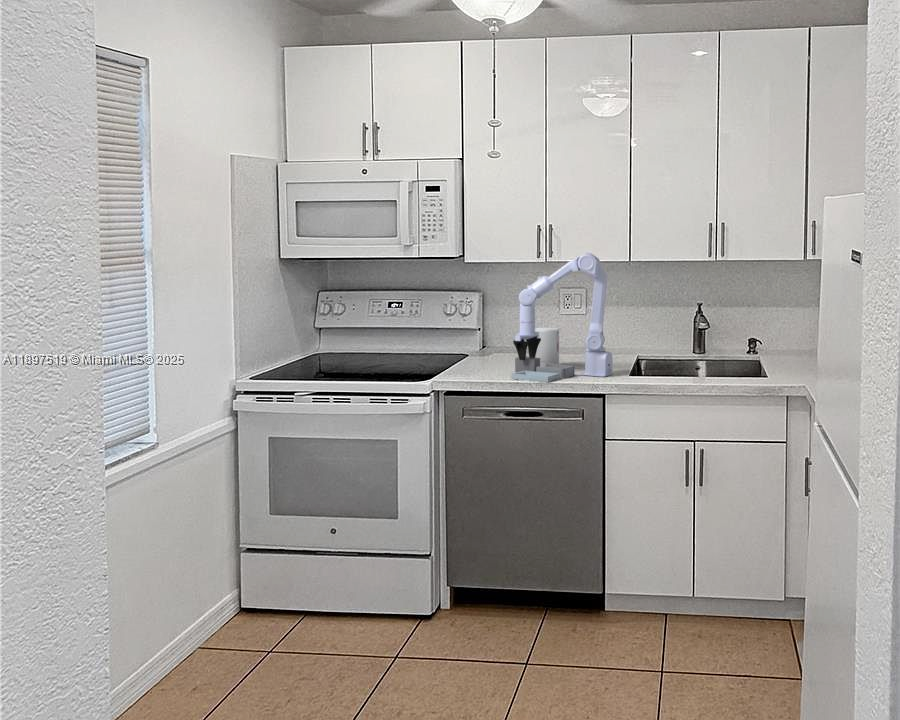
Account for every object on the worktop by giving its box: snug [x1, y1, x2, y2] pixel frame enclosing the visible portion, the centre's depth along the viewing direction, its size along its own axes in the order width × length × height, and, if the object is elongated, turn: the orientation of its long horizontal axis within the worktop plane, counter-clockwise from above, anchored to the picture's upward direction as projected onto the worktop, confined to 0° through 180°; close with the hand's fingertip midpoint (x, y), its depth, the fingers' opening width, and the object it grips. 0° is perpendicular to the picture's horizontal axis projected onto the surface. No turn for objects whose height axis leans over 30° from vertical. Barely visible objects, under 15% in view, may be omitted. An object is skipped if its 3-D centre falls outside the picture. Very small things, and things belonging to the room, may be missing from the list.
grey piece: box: [535, 327, 560, 367], centre depth 437 cm, size 9×9×15 cm
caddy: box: [514, 355, 540, 373], centre depth 423 cm, size 8×4×7 cm, turn 57°
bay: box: [536, 364, 575, 379], centre depth 417 cm, size 11×8×4 cm
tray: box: [510, 371, 561, 383], centre depth 409 cm, size 15×9×2 cm, turn 57°
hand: (527, 358), depth 422 cm, fingers open, 7 cm apart
